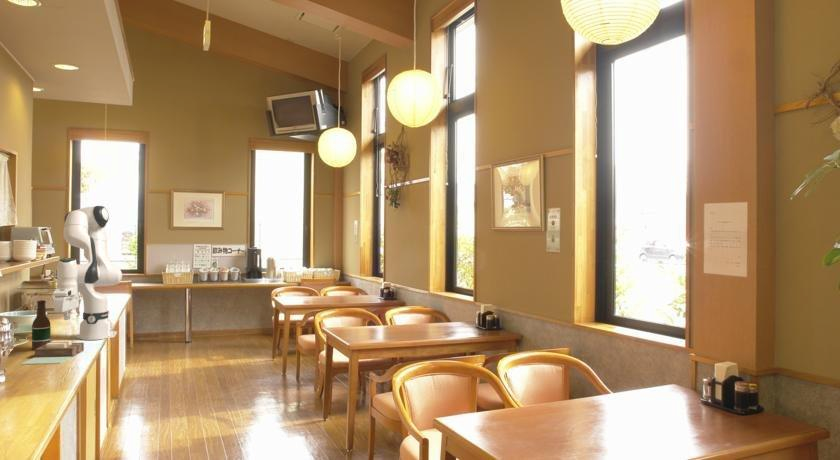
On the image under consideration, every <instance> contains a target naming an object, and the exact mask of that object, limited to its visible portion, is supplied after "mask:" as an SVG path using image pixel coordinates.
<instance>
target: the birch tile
mask: <svg viewBox="0 0 840 460" xmlns="http://www.w3.org/2000/svg"><path fill="white" fill-rule="evenodd" d="M72 343H73V342H72V340H67V339H66V340H52V341H50V343H48V344H46V348H66V347H68V346H70V345H72Z"/></svg>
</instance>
